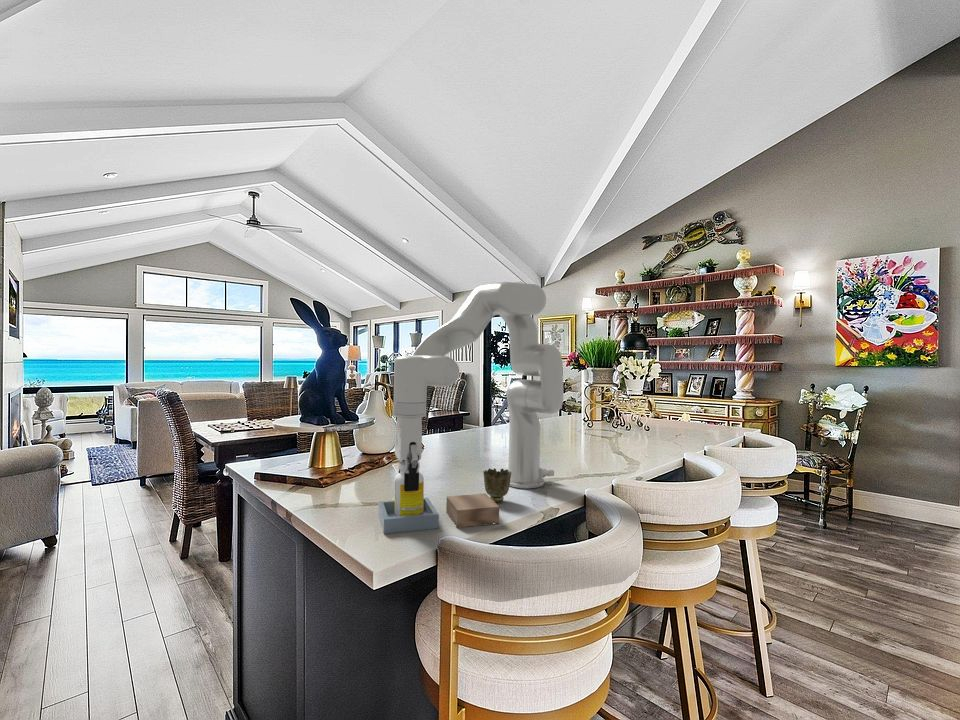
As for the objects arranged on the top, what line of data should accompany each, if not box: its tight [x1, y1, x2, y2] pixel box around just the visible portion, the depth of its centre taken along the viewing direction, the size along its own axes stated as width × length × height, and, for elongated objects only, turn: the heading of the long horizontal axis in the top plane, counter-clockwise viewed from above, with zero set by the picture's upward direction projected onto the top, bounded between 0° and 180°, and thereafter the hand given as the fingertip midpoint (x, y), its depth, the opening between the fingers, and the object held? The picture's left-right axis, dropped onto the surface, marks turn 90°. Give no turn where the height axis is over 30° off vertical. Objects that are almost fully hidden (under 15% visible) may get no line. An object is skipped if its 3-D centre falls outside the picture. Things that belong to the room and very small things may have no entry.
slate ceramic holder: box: [378, 497, 440, 535], centre depth 102 cm, size 12×12×3 cm
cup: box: [483, 468, 511, 504], centre depth 118 cm, size 8×7×8 cm
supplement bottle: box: [394, 461, 425, 517], centre depth 102 cm, size 7×7×13 cm
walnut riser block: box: [445, 493, 500, 528], centre depth 105 cm, size 10×10×4 cm
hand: (408, 484), depth 102 cm, fingers open, 8 cm apart
